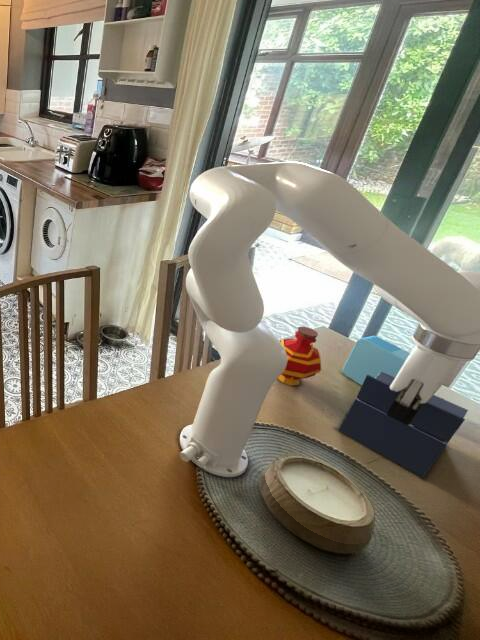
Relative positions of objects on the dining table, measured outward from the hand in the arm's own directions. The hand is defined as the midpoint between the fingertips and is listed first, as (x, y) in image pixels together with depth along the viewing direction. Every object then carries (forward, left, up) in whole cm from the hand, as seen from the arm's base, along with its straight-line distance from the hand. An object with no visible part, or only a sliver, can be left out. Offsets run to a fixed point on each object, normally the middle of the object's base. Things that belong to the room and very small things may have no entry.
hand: (398, 418), depth 78 cm
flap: (+5, 0, 0) cm, 5 cm away
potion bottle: (+15, +21, -14) cm, 29 cm away
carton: (+13, 0, -13) cm, 19 cm away
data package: (+30, +8, -14) cm, 34 cm away
